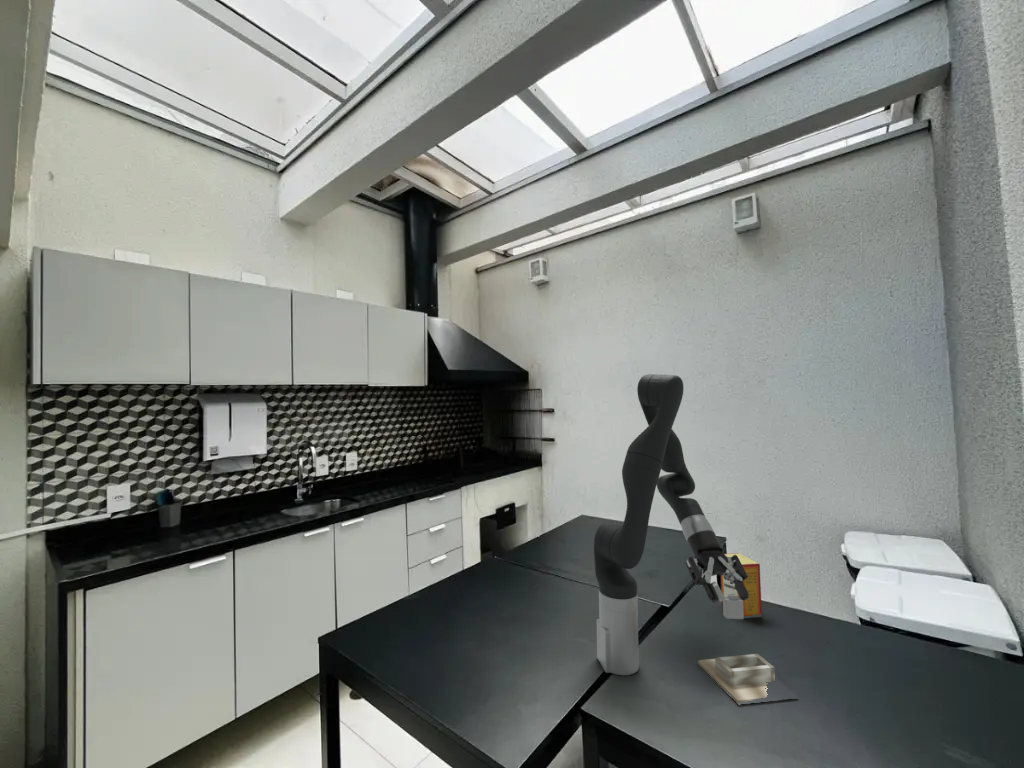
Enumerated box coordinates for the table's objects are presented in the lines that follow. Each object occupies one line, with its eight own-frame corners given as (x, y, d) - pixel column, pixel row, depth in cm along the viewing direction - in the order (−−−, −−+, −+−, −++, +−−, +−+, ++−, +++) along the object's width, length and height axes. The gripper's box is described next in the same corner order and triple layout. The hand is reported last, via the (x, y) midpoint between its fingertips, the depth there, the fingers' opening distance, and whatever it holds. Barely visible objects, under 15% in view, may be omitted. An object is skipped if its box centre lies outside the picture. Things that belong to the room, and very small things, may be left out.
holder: (738, 705, 85) (737, 685, 85) (698, 664, 99) (697, 647, 99) (797, 699, 87) (796, 679, 87) (750, 659, 101) (749, 642, 101)
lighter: (740, 615, 100) (739, 582, 100) (744, 619, 98) (742, 585, 98) (710, 614, 100) (709, 580, 101) (713, 617, 98) (712, 583, 99)
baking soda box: (721, 604, 130) (719, 552, 131) (740, 602, 131) (738, 551, 132) (741, 619, 121) (739, 563, 122) (761, 617, 121) (759, 562, 122)
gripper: (681, 530, 106) (710, 595, 94) (730, 528, 109) (765, 592, 96) (670, 544, 111) (697, 608, 99) (718, 542, 114) (749, 604, 101)
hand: (730, 600), depth 98 cm, fingers closed on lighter, 7 cm apart
